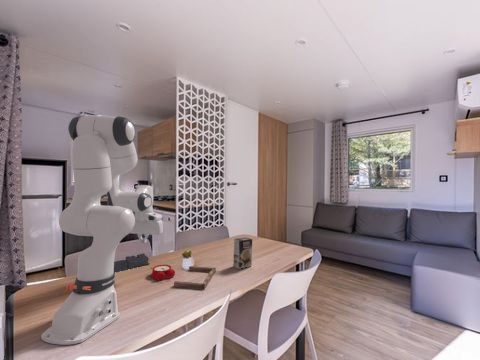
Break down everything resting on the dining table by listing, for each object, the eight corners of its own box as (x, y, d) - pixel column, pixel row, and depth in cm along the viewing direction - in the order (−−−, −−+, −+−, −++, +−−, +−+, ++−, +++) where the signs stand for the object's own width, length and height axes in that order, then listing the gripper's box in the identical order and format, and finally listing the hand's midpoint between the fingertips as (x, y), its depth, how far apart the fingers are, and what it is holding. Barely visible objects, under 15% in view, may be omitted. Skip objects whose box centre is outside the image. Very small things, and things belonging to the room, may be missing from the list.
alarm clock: (166, 263, 129) (178, 264, 118) (167, 275, 128) (179, 277, 117) (147, 267, 122) (158, 268, 111) (148, 279, 121) (158, 282, 110)
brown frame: (204, 289, 106) (204, 285, 106) (173, 286, 108) (173, 282, 108) (215, 271, 128) (215, 267, 128) (189, 269, 130) (190, 266, 130)
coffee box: (239, 269, 132) (240, 240, 132) (232, 266, 137) (233, 238, 137) (252, 266, 137) (252, 239, 137) (245, 263, 142) (246, 236, 143)
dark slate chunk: (102, 267, 131) (102, 258, 132) (141, 258, 147) (141, 251, 147) (111, 274, 121) (112, 265, 121) (152, 265, 137) (153, 256, 137)
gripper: (121, 215, 120) (120, 242, 120) (159, 217, 118) (158, 245, 118) (128, 214, 126) (128, 239, 126) (164, 215, 124) (164, 241, 124)
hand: (143, 242), depth 122 cm, fingers closed
